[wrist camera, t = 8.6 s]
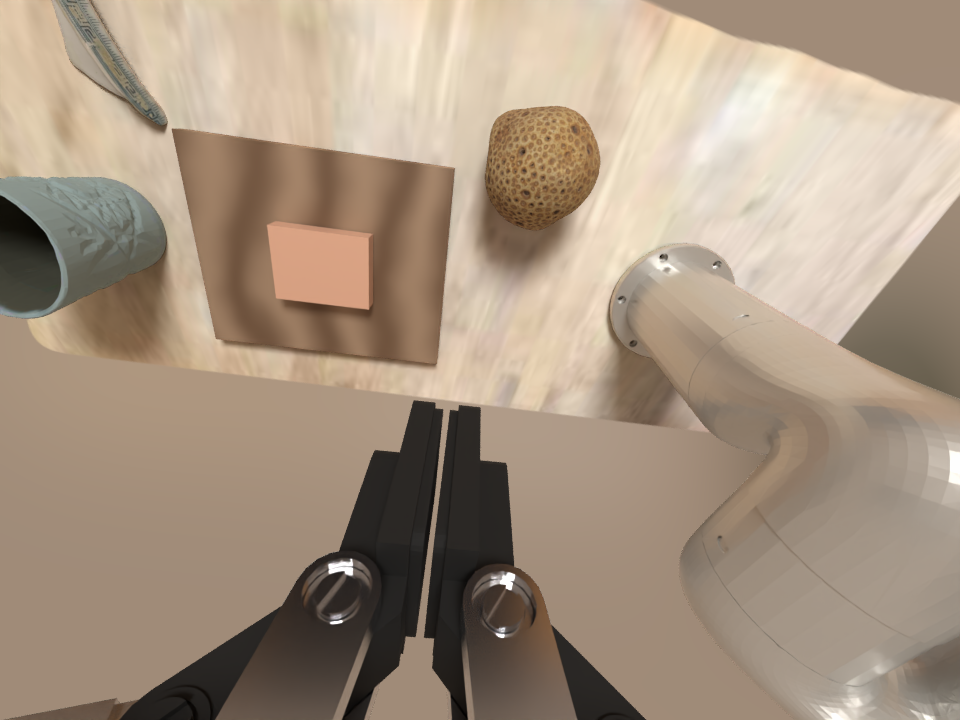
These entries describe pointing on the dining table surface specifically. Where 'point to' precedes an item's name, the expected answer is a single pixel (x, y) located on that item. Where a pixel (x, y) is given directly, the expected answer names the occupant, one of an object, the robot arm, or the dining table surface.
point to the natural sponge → (540, 165)
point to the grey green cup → (70, 240)
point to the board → (323, 203)
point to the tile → (321, 264)
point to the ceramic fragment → (102, 56)
